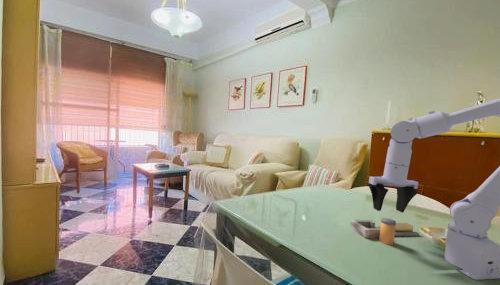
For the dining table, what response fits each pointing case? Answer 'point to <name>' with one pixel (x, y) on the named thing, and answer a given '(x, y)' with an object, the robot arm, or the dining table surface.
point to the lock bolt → (403, 227)
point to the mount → (374, 229)
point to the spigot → (387, 231)
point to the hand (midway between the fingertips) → (388, 210)
